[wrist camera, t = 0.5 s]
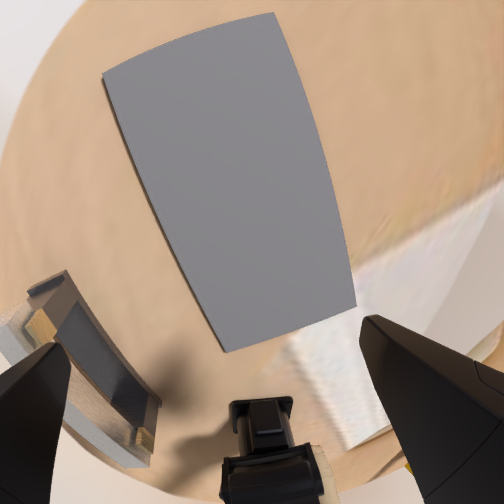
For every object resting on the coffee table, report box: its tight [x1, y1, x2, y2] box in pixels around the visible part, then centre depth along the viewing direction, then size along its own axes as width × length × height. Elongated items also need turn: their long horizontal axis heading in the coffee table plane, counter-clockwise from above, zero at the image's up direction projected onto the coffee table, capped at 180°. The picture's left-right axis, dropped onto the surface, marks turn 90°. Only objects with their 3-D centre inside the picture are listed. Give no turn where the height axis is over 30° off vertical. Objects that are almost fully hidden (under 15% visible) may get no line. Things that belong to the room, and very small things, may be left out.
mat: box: [102, 12, 357, 353], centre depth 19 cm, size 24×12×1 cm, turn 19°
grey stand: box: [25, 270, 162, 454], centre depth 20 cm, size 17×5×7 cm, turn 19°
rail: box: [0, 300, 151, 468], centre depth 18 cm, size 18×3×3 cm, turn 19°
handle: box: [311, 446, 340, 504], centre depth 28 cm, size 5×6×15 cm
